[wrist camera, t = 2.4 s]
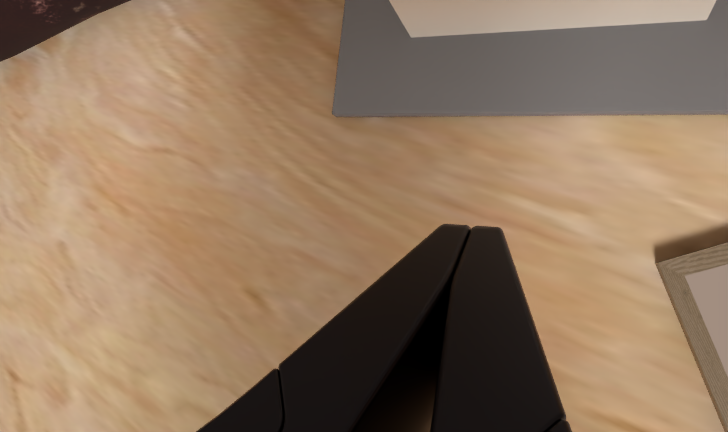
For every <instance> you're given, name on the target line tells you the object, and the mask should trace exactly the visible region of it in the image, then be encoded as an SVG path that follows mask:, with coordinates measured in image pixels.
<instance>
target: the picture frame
mask: <svg viewBox="0 0 728 432" xmlns="http://www.w3.org/2000/svg"><path fill="white" fill-rule="evenodd" d="M656 266H657V269H658V271H659V274H660V276H661V278H662V281H663V283H664V286H665V288H666V291H667V293H668V295H669V298H670V300H671V303H672V305H673V307H674V310H675V312H676V315H677V317H678V320H679V322H680V324H681V327H682V329H683V332H684V334H685V336H686V339H687V341H688V344H689V346H690V349H691V351H692V353H693V356H694V358H695V361H696V363H697V366H698V368H699V370H700V373H701V375H702V378H703V380H704V382H705V385H706V387H707V390H708V392H709V395H710V397H711V399H712V402H713V404H714V407H715V409H716V411H717V414H718V416H719V419H720V421H721V424H722V426H723V428H724V431H725V432H728V242H727V243H724V244H720V245H717V246H714V247H710V248H707V249H703V250H700V251H696V252H693V253H690V254H686V255H683V256H679V257H676V258H672V259H669V260H665V261H662V262H659V263H656Z"/></svg>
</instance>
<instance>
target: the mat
mask: <svg viewBox="0 0 728 432" xmlns="http://www.w3.org/2000/svg"><path fill="white" fill-rule="evenodd" d="M332 114H333V115H334V116H336V117H392V116H547V115H701V114H728V0H716V2H715V4H714V6H713V8H712V10H711V12H710V14H709V16H708V18H707V20H701V21H685V22H668V23H651V24H634V25H617V26H600V27H583V28H566V29H549V30H532V31H515V32H498V33H481V34H464V35H447V36H431V37H414V38H411V37H410V35H409V33H408V32H407V30H406V28H405V27H404V25H403V23H402V22H401V20H400V18H399V16H398V15H397V13H396V11H395V10H394V8H393V6H392V5H391V3H390V1H389V0H345V7H344V15H343V24H342V33H341V41H340V50H339V59H338V67H337V76H336V85H335V93H334V102H333V111H332Z"/></svg>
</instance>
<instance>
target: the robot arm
mask: <svg viewBox="0 0 728 432" xmlns="http://www.w3.org/2000/svg"><path fill="white" fill-rule="evenodd" d="M278 368H279V370H278V369H273V370H272V371H271V372H269V373H268V374H267V375H266V376H265V377H264V378H263V379H261V380H260V381H259V382H258V383H257V384H256V385H254V386H253V387H252V388H251V389H250V390H248V391H247V392H246V393H245V394H243V395H242V396H241V397H240V398H239V399H237V400H236V401H235V402H234V403H232V404H231V405H230V406H229V407H228V408H226V409H225V410H224V411H223V412H221V413H220V414H219V415H218V416H216V417H215V418H214V419H212V420H211V421H210V422H208V423H207V424H206V425H204V426H203V427H202V428H200V429H199V430H198V431H196V432H572V431H571V428H570V425H569V423H568V421H566V414H565V412H564V409H563V406H562V403H561V400H560V397H559V394H558V391H557V388H556V385H555V382H554V379H553V376H552V373H551V371H550V368H549V365H548V362H547V359H546V356H545V353H544V350H543V347H542V344H541V341H540V338H539V335H538V333H537V330H536V327H535V324H534V321H533V318H532V315H531V312H530V309H529V306H528V303H527V300H526V297H525V294H524V292H523V289H522V286H521V283H520V280H519V277H518V274H517V271H516V268H515V265H514V262H513V259H512V256H511V253H510V251H509V248H508V245H507V242H506V239H505V236H504V233H503V231H502V229H501V228H499V227H486V226H475V227H473V228H472V229H471V228H470V227H469V226H467V225H455V224H443V225H441V226H440V227H438V228H437V229H436V230H435V231H434V232H432V233H431V234H430V235H429V236H428V237H427V238H425V239H424V240H423V241H422V242H421V243H420V244H419V245H417V246H416V247H415V248H414V249H413V250H412V251H410V252H409V253H408V254H407V255H406V256H405V257H403V258H402V259H401V260H400V261H399V262H398V263H396V264H395V265H394V266H393V267H392V268H391V269H389V270H388V271H387V272H386V273H385V274H384V275H383V276H381V277H380V278H379V279H378V280H377V281H376V282H374V283H373V284H372V285H371V286H370V287H369V288H367V289H366V290H365V291H364V292H363V293H362V294H360V295H359V296H358V297H357V298H356V299H355V300H353V301H352V302H351V303H350V304H349V305H348V306H346V307H345V308H344V309H343V310H342V311H341V312H340V313H338V314H337V315H336V316H335V317H334V318H333V319H331V320H330V321H329V322H328V323H327V324H326V325H324V326H323V327H322V328H321V329H320V330H319V331H317V332H316V333H315V334H314V335H313V336H312V337H310V338H309V339H308V340H307V341H306V342H305V343H303V344H302V345H301V346H300V347H299V348H298V349H297V350H295V351H294V352H293V353H292V354H291V355H290V356H288V357H287V358H286V359H285V360H284V361H283V362H281V363H280V364H279V367H278Z"/></svg>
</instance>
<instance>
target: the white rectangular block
mask: <svg viewBox="0 0 728 432" xmlns="http://www.w3.org/2000/svg"><path fill="white" fill-rule="evenodd" d="M389 1H390V3H391V5H392V6H393V8H394V10H395V11H396V13H397V15H398V16H399V18H400V20H401V22H402V23H403V25H404V27H405V28H406V30H407V32H408V33H409V35H410V37H411V38H414V37H431V36H447V35H464V34H481V33H498V32H515V31H532V30H549V29H566V28H583V27H600V26H617V25H634V24H651V23H668V22H685V21H701V20H707V18H708V16H709V14H710V12H711V10H712V8H713V6H714V4H715V2H716V0H389Z"/></svg>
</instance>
